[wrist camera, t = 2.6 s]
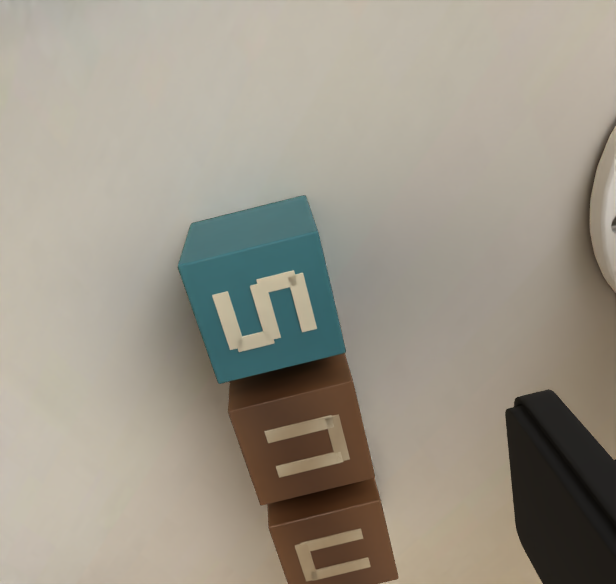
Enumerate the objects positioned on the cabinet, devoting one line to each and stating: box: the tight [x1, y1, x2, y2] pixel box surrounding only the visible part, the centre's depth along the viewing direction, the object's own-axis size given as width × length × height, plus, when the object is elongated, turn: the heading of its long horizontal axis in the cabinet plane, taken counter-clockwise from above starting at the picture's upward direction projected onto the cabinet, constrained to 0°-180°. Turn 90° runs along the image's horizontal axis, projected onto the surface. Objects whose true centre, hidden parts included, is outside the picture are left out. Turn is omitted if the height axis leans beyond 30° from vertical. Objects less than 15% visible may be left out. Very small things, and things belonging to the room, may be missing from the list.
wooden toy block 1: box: [228, 353, 375, 505], centre depth 23 cm, size 4×4×4 cm
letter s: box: [178, 195, 346, 384], centre depth 20 cm, size 4×4×4 cm
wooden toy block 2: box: [268, 478, 398, 584], centre depth 25 cm, size 4×4×4 cm
